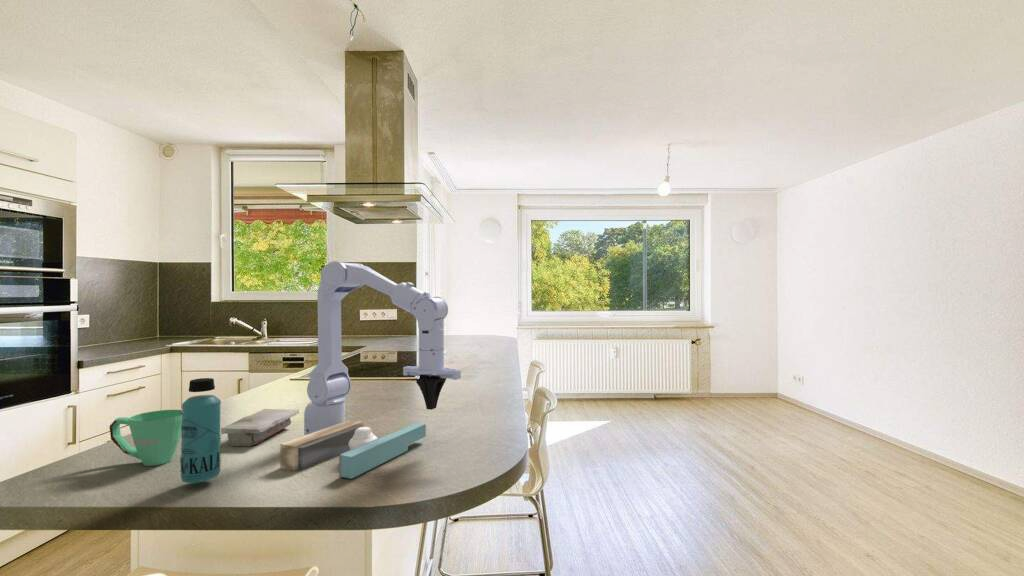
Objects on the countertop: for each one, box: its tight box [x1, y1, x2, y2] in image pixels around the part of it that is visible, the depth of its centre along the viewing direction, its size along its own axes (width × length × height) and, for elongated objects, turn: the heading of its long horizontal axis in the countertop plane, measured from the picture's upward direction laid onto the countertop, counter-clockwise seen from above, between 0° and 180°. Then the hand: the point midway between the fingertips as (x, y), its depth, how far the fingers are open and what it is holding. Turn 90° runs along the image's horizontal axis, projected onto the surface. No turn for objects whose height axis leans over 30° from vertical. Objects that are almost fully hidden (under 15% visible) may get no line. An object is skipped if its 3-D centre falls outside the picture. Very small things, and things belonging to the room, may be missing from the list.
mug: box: [108, 409, 182, 467], centre depth 103 cm, size 15×10×10 cm
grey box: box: [220, 408, 300, 447], centre depth 121 cm, size 18×5×10 cm
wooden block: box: [279, 419, 365, 472], centre depth 107 cm, size 5×20×5 cm, turn 156°
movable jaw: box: [338, 422, 427, 479], centre depth 104 cm, size 3×25×4 cm, turn 156°
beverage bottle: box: [179, 377, 222, 484], centre depth 91 cm, size 6×7×20 cm
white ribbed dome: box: [348, 426, 379, 450], centre depth 104 cm, size 6×6×7 cm
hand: (431, 408), depth 110 cm, fingers closed
